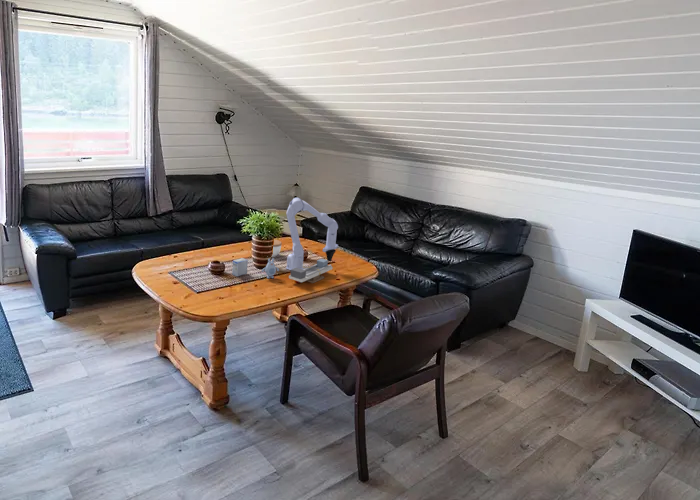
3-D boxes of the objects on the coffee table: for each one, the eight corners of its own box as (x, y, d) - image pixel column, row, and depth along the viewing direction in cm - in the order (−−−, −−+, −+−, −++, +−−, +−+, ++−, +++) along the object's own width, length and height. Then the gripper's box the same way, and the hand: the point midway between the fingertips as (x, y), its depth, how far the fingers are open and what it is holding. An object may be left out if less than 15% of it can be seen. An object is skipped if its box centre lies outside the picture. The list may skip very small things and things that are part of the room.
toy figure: (262, 280, 291) (263, 260, 288) (259, 276, 297) (260, 256, 293) (280, 279, 296) (281, 259, 293) (277, 275, 302) (278, 256, 298)
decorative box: (270, 259, 328) (271, 243, 325) (257, 254, 335) (258, 238, 332) (284, 256, 338) (285, 240, 334) (271, 251, 345) (272, 235, 341)
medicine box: (241, 271, 302) (242, 257, 299) (247, 273, 299) (248, 259, 297) (231, 274, 295) (232, 260, 293) (237, 276, 293) (237, 262, 290)
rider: (316, 266, 310) (317, 260, 309) (321, 264, 314) (321, 258, 313) (322, 268, 308) (323, 262, 307) (327, 266, 312) (327, 260, 311)
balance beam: (287, 282, 292) (288, 268, 290) (318, 269, 319) (319, 256, 316) (302, 287, 287) (303, 273, 284) (333, 274, 314) (334, 261, 311)
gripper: (330, 243, 305) (328, 264, 309) (343, 238, 317) (340, 259, 321) (320, 240, 308) (318, 262, 312) (333, 236, 320) (331, 257, 324)
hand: (329, 260), depth 317 cm, fingers closed
